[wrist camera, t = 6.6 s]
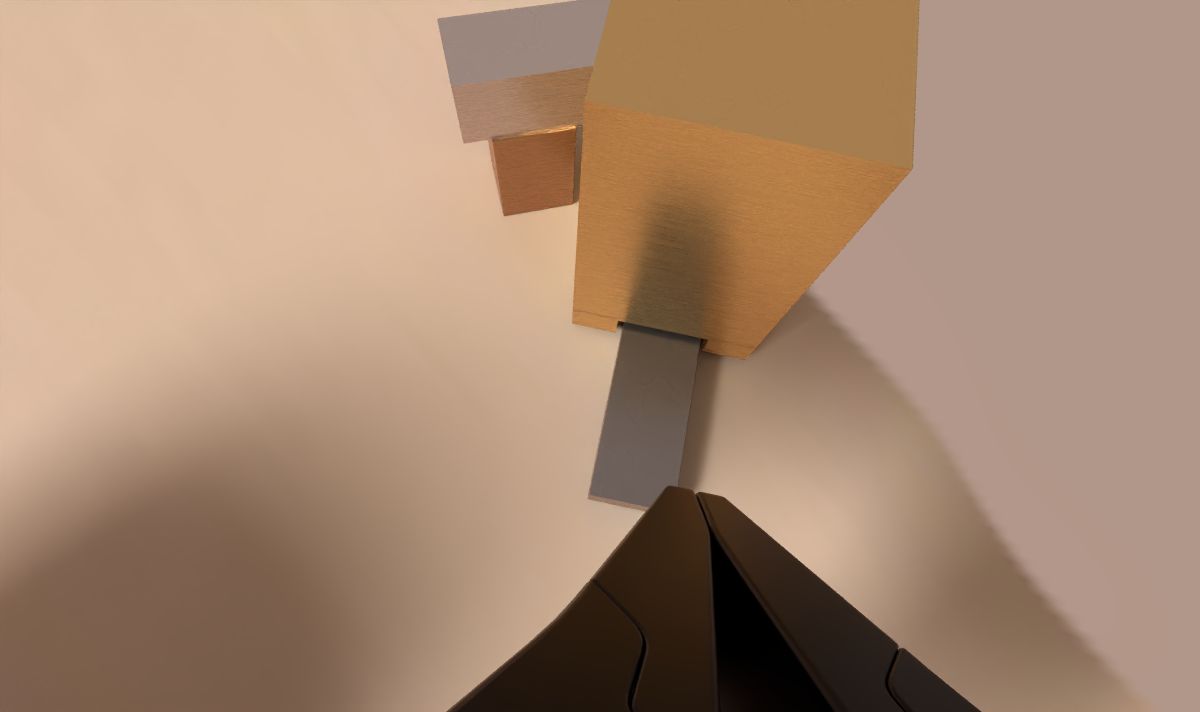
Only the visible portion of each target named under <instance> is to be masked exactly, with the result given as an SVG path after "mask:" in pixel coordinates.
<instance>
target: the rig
mask: <svg viewBox="0 0 1200 712" xmlns="http://www.w3.org/2000/svg"><path fill="white" fill-rule="evenodd" d="M610 2H611V0H578V1H570V2H562V3H555V4H547V5H539V6H532V7H524V8H516V9H508V10H501V11H493V12H485V13H478V14H470V15H462V16H454V17H447V18H439V19H437V20H438V24H439V29H440V34H441V39H442V44H443V49H444V54H445V59H446V63H447V68H448V73H449V78H450V83H451V88H452V92H453V97H454V101H455V106H456V111H457V115H458V120H459V124H460V129H461V133H462V138H463V143H471V142H477V141H483V140H488V142H489V148H490V154H491V160H492V164H493V169H494V173H495V178H496V182H497V187H498V191H499V196H500V201H501V205H502V210H503V214H504V216H507V215H512V214H518V213H524V212H530V211H535V210H541V209H547V208H553V207H558V206H564V205H570V204H573V188H574V163H575V138H576V127H575V126H579V125H583V123H584V106H585V97H586V94H587V90H588V86H589V82H590V78H591V74H592V71H593V67H594V63H595V59H596V55H597V51H598V48H599V44H600V40H601V36H602V32H603V28H604V25H605V21H606V17H607V13H608V9H609V6H610ZM700 341H701V338H698V337H693V336H689V335H684V334H679V333H674V332H670V331H665V330H660V329H656V328H651V327H646V326H641V325H637V324H632V323H627V322H624V323H623V328H622V333H621V338H620V343H619V348H618V352H617V357H616V362H615V367H614V372H613V377H612V382H611V387H610V392H609V396H608V401H607V406H606V411H605V416H604V421H603V426H602V431H601V435H600V440H599V445H598V450H597V455H596V460H595V465H594V470H593V475H592V479H591V484H590V489H589V494H588V499H591V500H596V501H600V502H605V503H610V504H614V505H619V506H624V507H628V508H633V509H638V510H643V511H647V509H648V508H649V507H650V506H651V504H652V503H653V502H654V501H655V499H656V498H657V497H658V496H659V495H660V493H661V492H662V491H663V490H664V488H665V487H667V486H669V485H671V486H676V487H678V480H679V474H680V468H681V461H682V455H683V449H684V442H685V436H686V430H687V423H688V417H689V411H690V405H691V398H692V392H693V386H694V379H695V373H696V367H697V360H698V354H699V348H700Z"/></svg>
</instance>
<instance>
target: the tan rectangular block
mask: <svg viewBox="0 0 1200 712" xmlns="http://www.w3.org/2000/svg"><path fill="white" fill-rule="evenodd" d="M919 1H920V0H611V2H610V6H609V9H608V13H607V17H606V21H605V25H604V28H603V32H602V36H601V40H600V44H599V48H598V51H597V55H596V59H595V63H594V67H593V71H592V74H591V78H590V82H589V86H588V90H587V94H586V97H585V106H584V123H583V141H582V159H581V176H580V194H579V211H578V229H577V247H576V264H575V282H574V300H573V317H572V323H573V324H577V325H582V326H587V327H591V328H596V329H601V330H606V331H610V332H616V328H617V324H618V321H622V322H627V323H632V324H637V325H641V326H646V327H651V328H656V329H660V330H665V331H670V332H674V333H679V334H684V335H689V336H693V337H698V338H703V339H704V341H703V348H702V351H705V352H710V353H714V354H719V355H724V356H728V357H733V358H738V359H743V360H746V359H747V358H748V356H749V355H750V354H751V353H752V352H753V351H754V350H755V348H756V347H757V346H758V345H759V344H760V343H761V342H762V340H763V339H764V338H765V337H766V336H767V335H768V334H769V332H770V331H771V330H772V329H773V328H774V327H775V326H776V324H777V323H778V322H779V321H780V320H781V319H782V318H783V316H784V315H785V314H786V313H787V312H788V311H789V310H790V308H791V307H792V306H793V305H794V304H795V303H796V302H797V300H798V299H799V298H800V297H801V296H802V295H803V294H804V292H805V291H806V290H807V289H808V288H809V287H810V286H811V284H812V283H813V282H814V281H815V280H816V279H817V277H818V276H819V275H820V274H821V273H822V272H823V271H824V270H825V268H826V267H827V266H828V265H829V264H830V263H831V262H832V260H833V259H834V258H835V257H836V256H837V255H838V253H839V252H840V251H841V250H842V249H843V247H845V245H846V244H847V243H848V242H849V241H850V240H851V239H852V237H853V236H854V235H855V234H856V233H857V232H858V230H859V229H860V228H861V227H862V226H863V225H864V224H865V223H866V221H867V220H868V219H869V218H870V217H871V216H872V215H873V213H874V212H875V211H876V210H877V209H878V208H879V207H880V205H881V204H882V203H883V202H884V201H885V200H886V199H887V197H888V196H889V195H890V194H891V193H892V192H893V191H894V189H895V188H896V187H897V186H898V185H899V184H900V183H901V181H902V180H903V179H904V178H905V177H906V176H907V174H908V173H909V172H910V171H911V170H912V168H913V147H914V122H915V98H916V73H917V49H918V25H919Z"/></svg>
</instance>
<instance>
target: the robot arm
mask: <svg viewBox="0 0 1200 712" xmlns="http://www.w3.org/2000/svg"><path fill="white" fill-rule="evenodd" d="M898 648H899V646H898V644H897V643H896V642H895V641H893V640H892V639H891V638H890V637H889V636H888V635H886V634H885V633H884V632H883V631H882V630H880V629H879V628H878V627H877V626H876V625H875V624H873V623H872V622H871V621H870V620H869V619H867V618H866V617H865V616H864V615H863V614H862V613H860V612H859V611H858V610H857V609H856V608H854V607H853V606H852V605H851V604H850V603H849V602H847V601H846V600H845V599H844V598H843V597H841V596H840V595H839V594H838V593H837V592H836V591H834V590H833V589H832V588H831V587H830V586H828V585H827V584H826V583H825V582H824V581H823V580H821V579H820V578H819V577H818V576H817V575H815V574H814V573H813V572H812V571H811V570H810V569H808V568H807V567H806V566H805V565H804V564H802V563H801V562H800V561H799V560H798V559H797V558H795V557H794V556H793V555H792V554H791V553H789V552H788V551H787V550H786V549H785V548H784V547H782V546H781V545H780V544H779V543H778V542H776V541H775V540H774V539H773V538H772V537H771V536H769V535H768V534H767V533H766V532H765V531H764V530H762V529H761V528H760V527H759V526H758V525H756V524H755V523H754V522H753V521H752V520H751V519H749V518H748V517H747V516H746V515H745V514H743V513H742V512H741V511H740V510H739V509H738V508H736V507H735V506H734V505H733V504H732V503H730V502H729V501H728V500H727V499H726V498H724V497H722V496H718V495H713V494H709V493H704V492H698V493H696V494H695V492H694V491H693V490H690V489H685V488H680V487H676V486H671V485H669V486H667V487H665V488H664V490H663V491H662V492H661V493H660V495H659V496H658V497H657V498H656V499H655V501H654V502H653V503H652V504H651V506H650V507H649V508H648V509H647V511H646V512H645V513H644V514H643V515H642V517H641V518H640V519H639V520H638V522H637V523H636V524H635V525H634V526H633V528H632V529H631V530H630V531H629V533H628V534H627V535H626V536H625V538H624V539H623V540H622V541H621V542H620V544H619V545H618V546H617V547H616V549H615V550H614V551H613V552H612V554H611V555H610V556H609V557H608V558H607V560H606V561H605V562H604V563H603V565H602V566H601V567H600V568H599V570H598V571H597V572H596V573H595V574H594V576H593V577H592V578H591V579H590V581H589V582H587V583H586V584H585V586H584V587H583V588H582V589H581V590H580V592H579V593H578V594H577V595H576V597H575V598H574V599H573V600H572V601H571V602H570V603H569V604H568V605H567V607H566V608H565V609H564V610H563V611H562V612H561V613H560V614H559V615H558V616H557V617H556V619H555V620H554V621H552V622H551V623H550V624H549V625H548V626H547V627H546V628H545V629H544V630H543V631H541V632H540V633H539V634H538V635H537V636H536V637H535V638H534V639H533V640H531V641H530V642H529V643H528V644H527V645H526V646H525V647H523V648H522V649H521V650H520V651H519V652H517V653H516V654H515V655H514V656H513V657H511V658H510V659H509V660H508V661H507V662H505V663H504V664H503V665H502V666H501V667H499V668H498V669H497V670H496V671H495V672H493V673H492V674H491V675H490V676H489V677H487V678H486V679H485V680H484V681H483V682H481V683H480V684H479V685H478V686H477V687H475V688H474V689H473V690H472V691H471V692H469V693H468V694H467V695H466V696H465V697H463V698H462V699H461V700H460V701H459V702H457V703H456V704H455V705H454V706H453V707H451V708H450V709H449V710H448V711H447V712H981V711H980V710H979V709H977V708H976V707H975V706H973V705H972V704H971V703H970V702H968V701H967V700H966V699H965V698H964V697H962V696H961V695H960V694H959V693H957V692H956V691H955V690H954V689H953V688H951V687H950V686H949V685H948V684H946V683H945V682H944V681H943V680H942V679H940V678H939V677H938V676H937V675H935V674H934V673H933V672H932V671H931V670H929V669H928V668H927V667H926V666H925V665H923V664H922V663H921V662H920V661H919V660H918V659H916V658H915V657H914V656H913V655H912V654H911V653H909V652H908V651H907V650H906V649H904V648H900V649H899V650H898Z"/></svg>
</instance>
